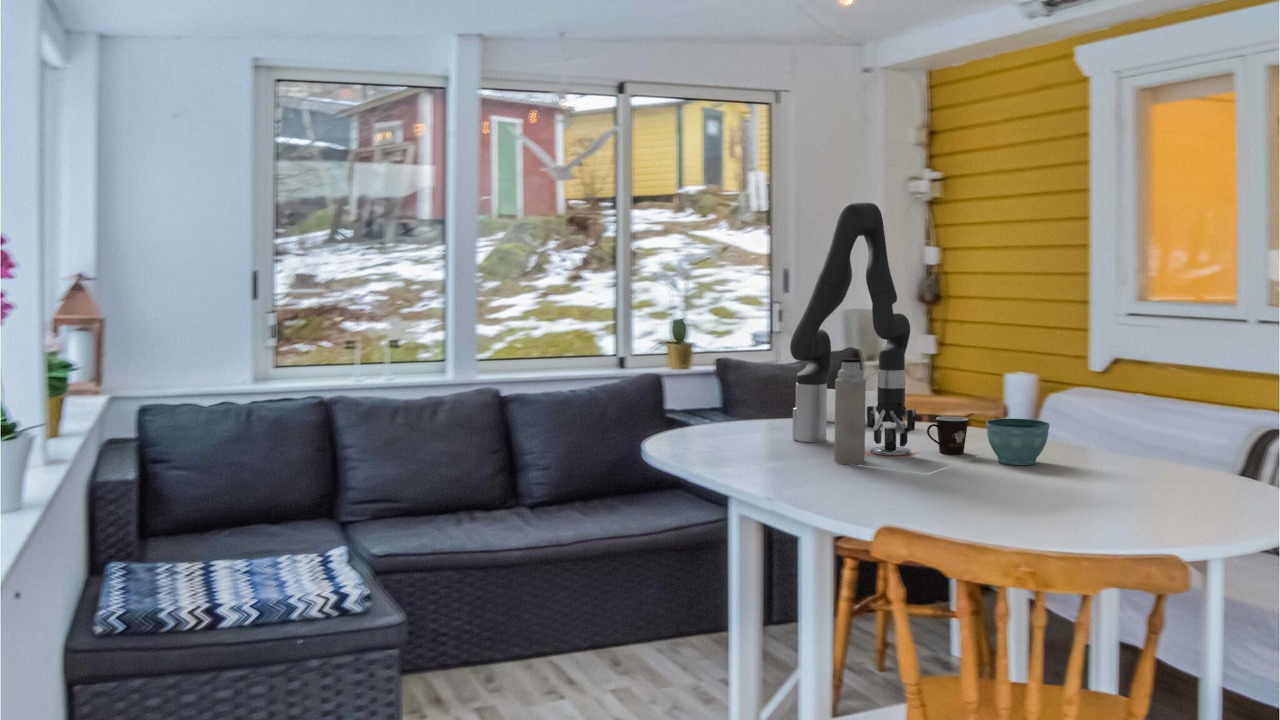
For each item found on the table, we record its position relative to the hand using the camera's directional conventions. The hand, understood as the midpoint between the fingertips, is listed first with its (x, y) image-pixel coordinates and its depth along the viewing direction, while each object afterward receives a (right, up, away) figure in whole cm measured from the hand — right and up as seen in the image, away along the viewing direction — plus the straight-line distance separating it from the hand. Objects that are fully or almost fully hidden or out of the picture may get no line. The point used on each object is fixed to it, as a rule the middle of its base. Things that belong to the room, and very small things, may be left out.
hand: (890, 444), depth 320 cm
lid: (0, -2, 0) cm, 2 cm away
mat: (0, -3, 0) cm, 3 cm away
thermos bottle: (-13, -4, -11) cm, 18 cm away
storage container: (0, +2, +55) cm, 55 cm away
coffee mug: (+16, -3, +1) cm, 16 cm away
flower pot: (+31, -4, -13) cm, 34 cm away
